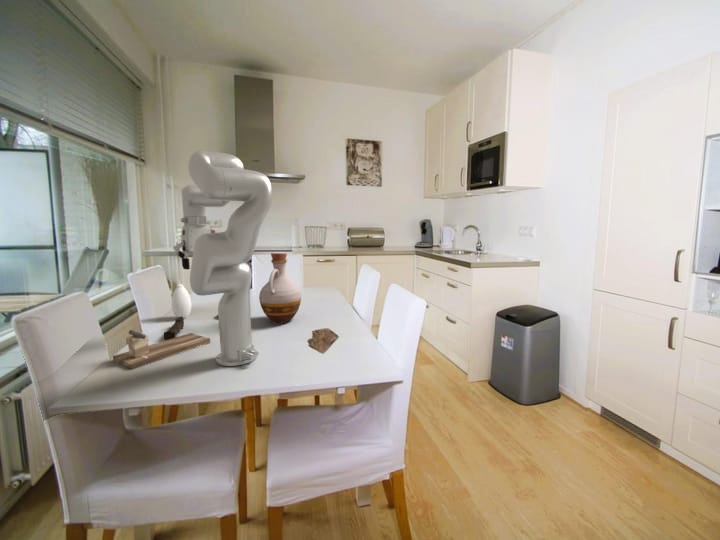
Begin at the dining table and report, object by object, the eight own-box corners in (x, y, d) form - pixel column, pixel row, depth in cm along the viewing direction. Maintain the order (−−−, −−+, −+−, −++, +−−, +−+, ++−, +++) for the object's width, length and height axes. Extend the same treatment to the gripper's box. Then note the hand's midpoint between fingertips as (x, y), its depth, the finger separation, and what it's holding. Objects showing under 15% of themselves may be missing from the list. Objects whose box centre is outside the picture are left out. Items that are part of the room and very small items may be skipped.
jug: (292, 329, 138) (289, 255, 133) (251, 327, 140) (247, 255, 136) (307, 315, 157) (305, 250, 152) (270, 314, 160) (267, 250, 155)
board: (210, 342, 124) (210, 338, 123) (132, 369, 102) (131, 364, 102) (191, 336, 130) (190, 332, 130) (113, 360, 108) (112, 355, 108)
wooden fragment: (313, 329, 139) (313, 326, 139) (340, 329, 139) (340, 326, 139) (302, 354, 114) (302, 351, 113) (335, 354, 114) (335, 351, 113)
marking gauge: (152, 354, 109) (150, 332, 107) (138, 359, 105) (136, 336, 104) (139, 349, 113) (137, 328, 112) (126, 353, 109) (123, 331, 108)
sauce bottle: (173, 321, 148) (170, 281, 146) (172, 317, 155) (168, 278, 152) (193, 319, 153) (190, 279, 150) (191, 314, 159) (188, 276, 156)
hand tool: (175, 341, 126) (174, 328, 125) (163, 341, 125) (162, 329, 125) (190, 325, 144) (189, 314, 144) (179, 326, 144) (178, 315, 143)
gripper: (178, 221, 116) (182, 271, 119) (222, 221, 131) (225, 265, 133) (166, 221, 120) (170, 269, 123) (210, 221, 135) (213, 264, 137)
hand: (198, 267), depth 128 cm, fingers open, 9 cm apart
